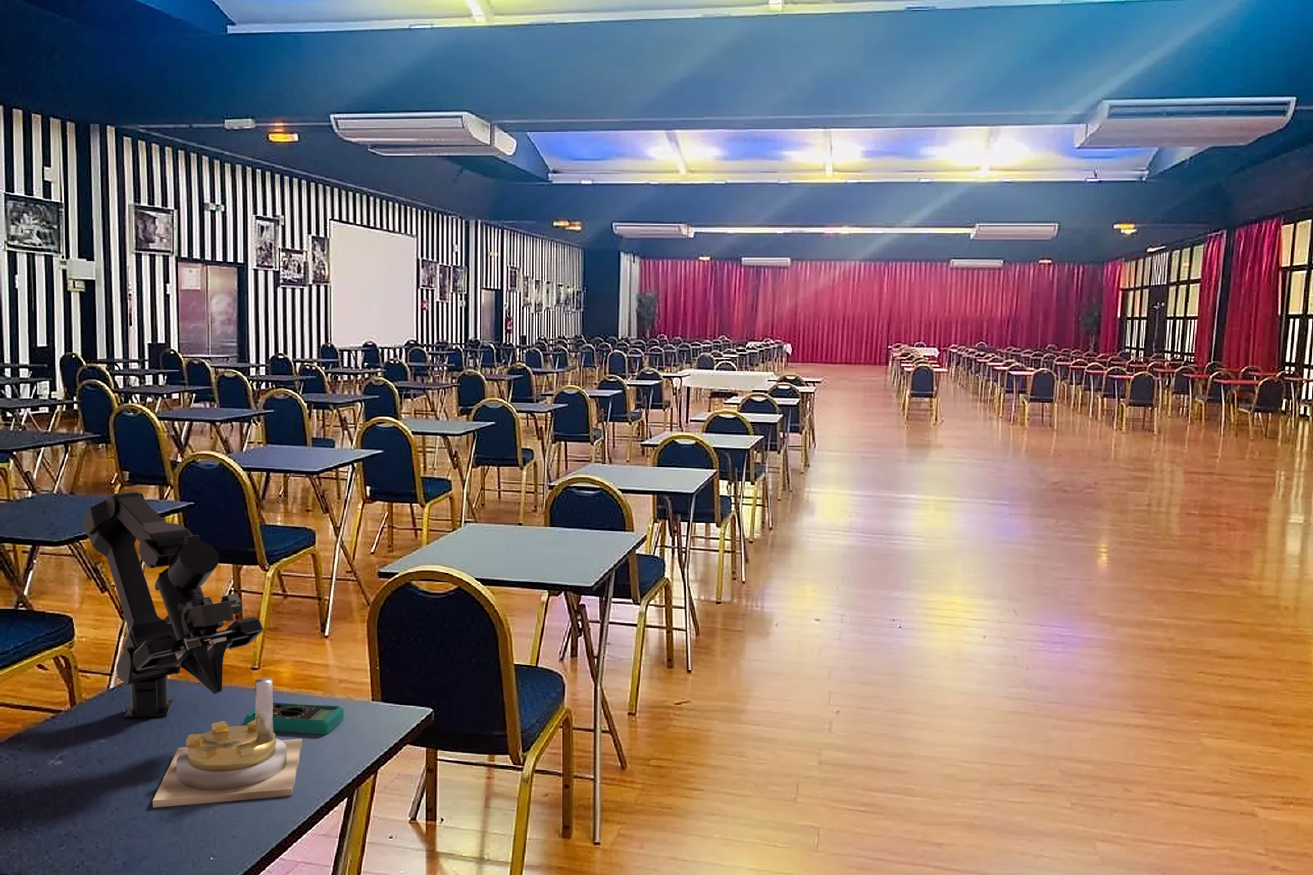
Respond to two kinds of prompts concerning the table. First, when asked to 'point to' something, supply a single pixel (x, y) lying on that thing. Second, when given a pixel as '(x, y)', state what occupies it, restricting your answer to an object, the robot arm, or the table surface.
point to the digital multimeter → (302, 718)
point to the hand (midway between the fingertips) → (218, 692)
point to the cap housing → (230, 779)
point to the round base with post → (237, 738)
